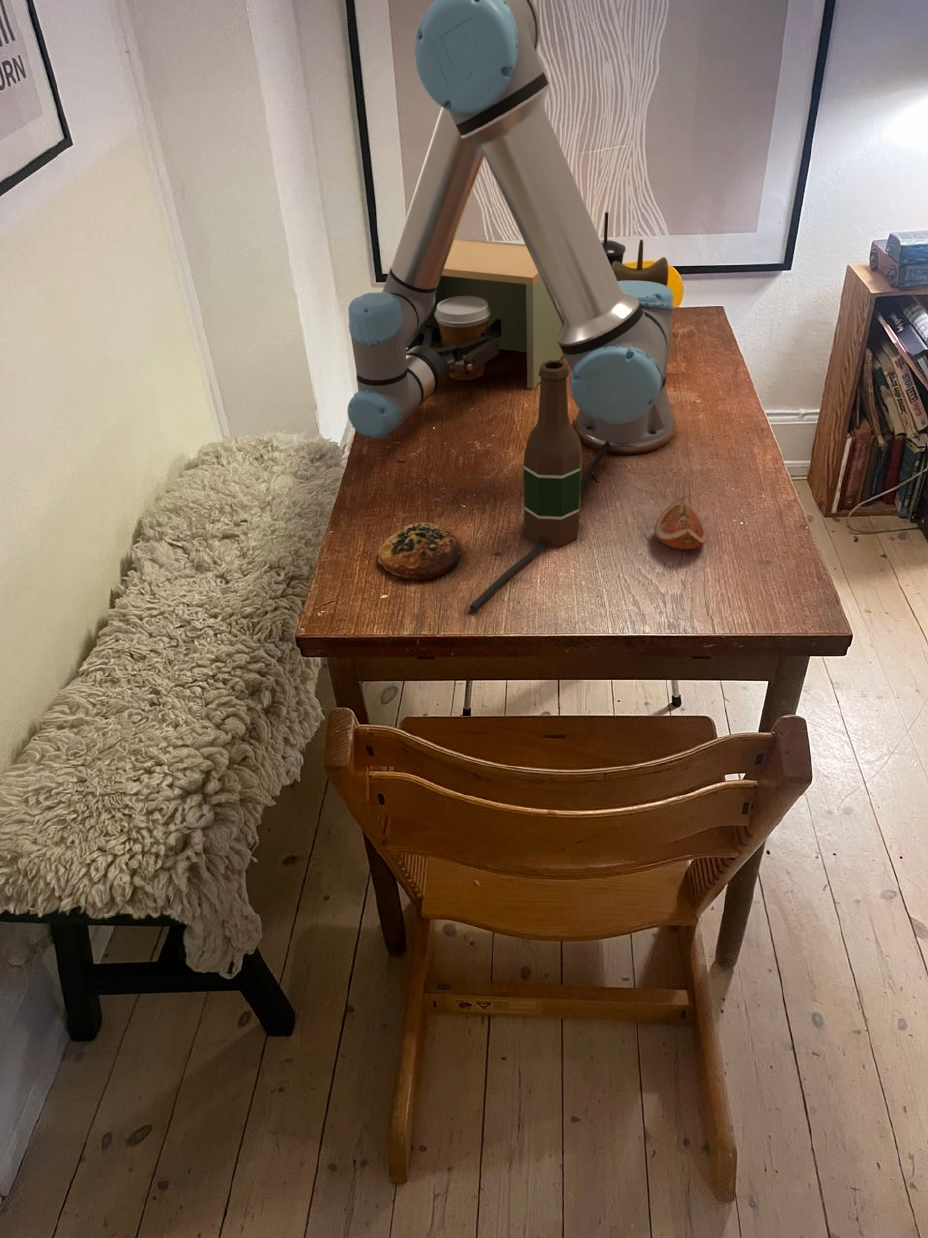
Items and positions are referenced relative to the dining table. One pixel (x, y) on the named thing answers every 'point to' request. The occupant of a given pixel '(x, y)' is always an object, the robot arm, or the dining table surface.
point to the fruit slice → (680, 526)
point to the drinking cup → (612, 246)
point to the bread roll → (420, 552)
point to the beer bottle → (552, 464)
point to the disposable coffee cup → (462, 325)
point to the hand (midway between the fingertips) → (475, 323)
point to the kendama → (642, 270)
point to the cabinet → (504, 298)
